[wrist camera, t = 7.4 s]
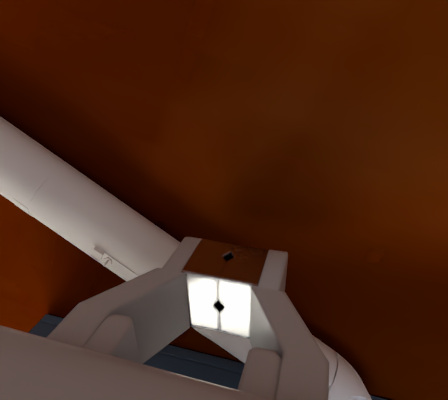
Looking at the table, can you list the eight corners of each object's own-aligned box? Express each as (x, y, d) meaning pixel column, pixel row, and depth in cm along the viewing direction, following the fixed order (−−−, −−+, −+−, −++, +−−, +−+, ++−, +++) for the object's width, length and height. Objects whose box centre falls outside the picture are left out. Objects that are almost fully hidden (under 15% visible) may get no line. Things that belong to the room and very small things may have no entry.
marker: (395, 378, 12) (406, 447, 10) (354, 399, 13) (357, 466, 11) (-21, 85, 12) (-95, 98, 10) (-28, 133, 13) (-95, 153, 11)
